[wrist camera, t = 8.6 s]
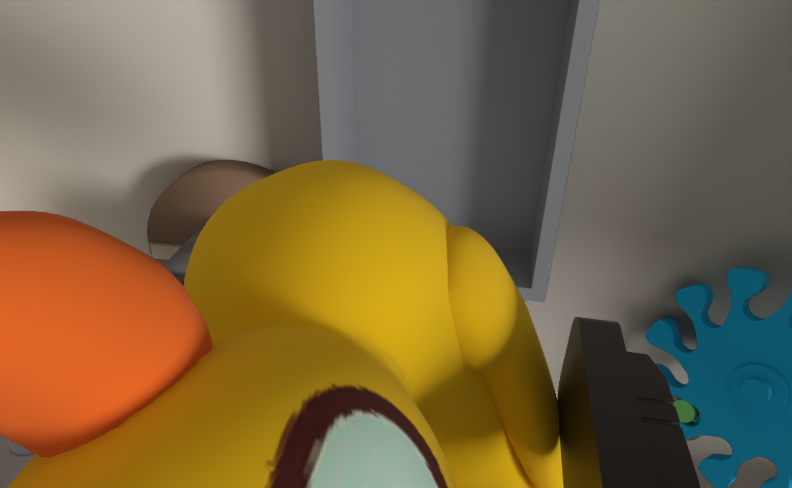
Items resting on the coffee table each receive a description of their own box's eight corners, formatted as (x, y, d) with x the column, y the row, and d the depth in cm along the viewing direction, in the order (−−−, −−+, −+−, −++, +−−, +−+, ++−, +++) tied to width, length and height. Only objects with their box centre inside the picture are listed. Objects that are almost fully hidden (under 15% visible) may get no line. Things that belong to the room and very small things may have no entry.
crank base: (336, 322, 31) (301, 405, 26) (180, 303, 32) (119, 378, 27) (327, 168, 26) (283, 233, 21) (146, 153, 28) (63, 210, 23)
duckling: (151, 92, 12) (-715, 565, 4) (368, -48, 10) (-497, 288, 1) (412, 448, 16) (303, 1046, 8) (601, 403, 14) (730, 1150, 6)
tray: (541, 257, 27) (544, 302, 24) (348, 237, 28) (329, 278, 25) (601, -98, 19) (617, -97, 16) (336, -101, 21) (307, -101, 18)
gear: (783, 217, 22) (1007, 470, 18) (824, 216, 26) (1016, 423, 22) (579, 352, 29) (705, 557, 25) (636, 335, 33) (753, 510, 29)
